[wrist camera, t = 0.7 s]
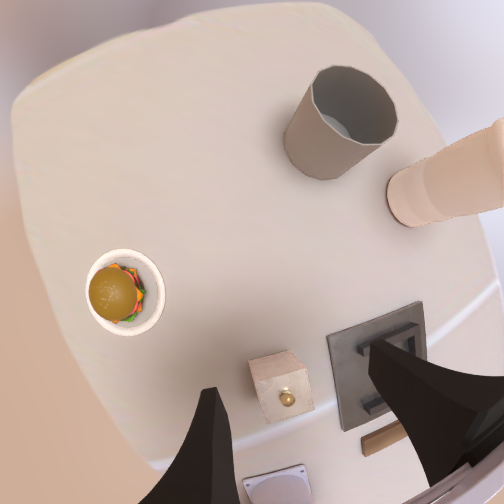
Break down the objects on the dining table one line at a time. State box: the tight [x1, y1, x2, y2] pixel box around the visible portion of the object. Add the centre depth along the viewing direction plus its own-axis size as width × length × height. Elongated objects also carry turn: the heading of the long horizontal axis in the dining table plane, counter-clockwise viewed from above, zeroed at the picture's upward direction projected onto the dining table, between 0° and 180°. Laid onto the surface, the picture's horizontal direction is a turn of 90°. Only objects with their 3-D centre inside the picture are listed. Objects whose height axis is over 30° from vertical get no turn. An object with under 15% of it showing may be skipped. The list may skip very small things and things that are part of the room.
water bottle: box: [387, 118, 504, 227], centre depth 19 cm, size 7×7×25 cm
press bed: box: [327, 301, 427, 432], centre depth 29 cm, size 13×13×2 cm
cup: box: [284, 65, 399, 180], centre depth 25 cm, size 8×8×10 cm
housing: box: [248, 350, 315, 424], centre depth 25 cm, size 4×4×7 cm
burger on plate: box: [86, 249, 165, 336], centre depth 25 cm, size 12×12×6 cm
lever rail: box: [361, 420, 408, 457], centre depth 29 cm, size 3×13×1 cm, turn 103°
